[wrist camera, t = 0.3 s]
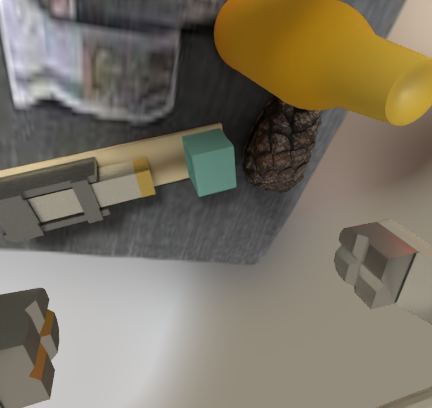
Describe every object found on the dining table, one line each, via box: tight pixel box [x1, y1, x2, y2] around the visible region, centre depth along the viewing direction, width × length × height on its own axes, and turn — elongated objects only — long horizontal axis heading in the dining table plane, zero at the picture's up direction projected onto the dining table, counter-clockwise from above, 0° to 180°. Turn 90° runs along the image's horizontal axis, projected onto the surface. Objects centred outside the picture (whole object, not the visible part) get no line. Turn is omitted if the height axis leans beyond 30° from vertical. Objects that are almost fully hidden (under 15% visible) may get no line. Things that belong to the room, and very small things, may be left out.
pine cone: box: [241, 96, 323, 193], centre depth 48 cm, size 10×18×10 cm, turn 163°
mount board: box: [0, 123, 223, 186], centre depth 47 cm, size 8×34×1 cm, turn 97°
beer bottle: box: [214, 0, 432, 126], centre depth 31 cm, size 9×9×29 cm
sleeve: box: [0, 157, 110, 243], centre depth 43 cm, size 7×14×6 cm, turn 97°
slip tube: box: [25, 157, 156, 223], centre depth 44 cm, size 4×20×4 cm, turn 97°
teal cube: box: [182, 128, 236, 197], centre depth 47 cm, size 7×6×7 cm
